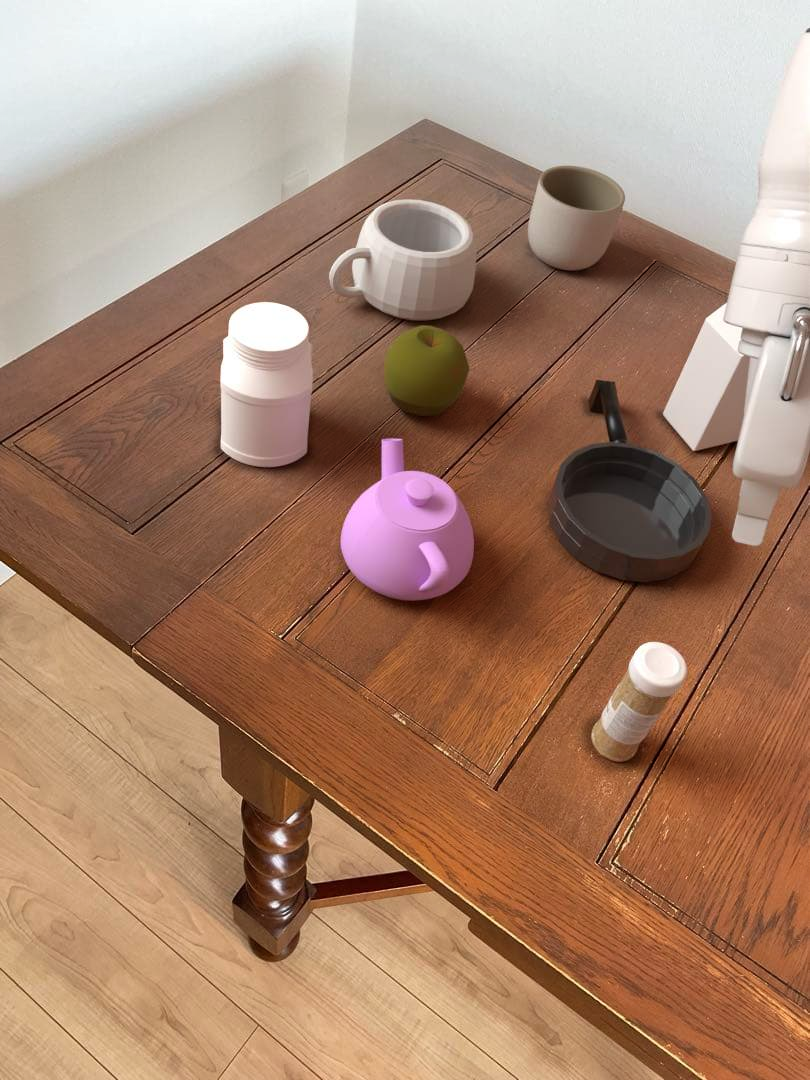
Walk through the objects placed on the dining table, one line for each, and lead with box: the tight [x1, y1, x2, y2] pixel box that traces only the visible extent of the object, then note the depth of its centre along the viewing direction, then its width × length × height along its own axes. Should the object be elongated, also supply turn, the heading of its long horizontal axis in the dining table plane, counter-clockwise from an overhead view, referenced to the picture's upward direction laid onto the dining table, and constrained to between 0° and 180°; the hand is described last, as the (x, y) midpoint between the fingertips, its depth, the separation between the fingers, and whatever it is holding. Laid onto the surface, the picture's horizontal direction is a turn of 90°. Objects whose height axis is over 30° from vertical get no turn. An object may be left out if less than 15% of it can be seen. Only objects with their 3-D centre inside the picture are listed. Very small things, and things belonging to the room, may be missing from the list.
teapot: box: [340, 438, 475, 602], centre depth 98 cm, size 14×20×11 cm
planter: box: [527, 165, 626, 271], centre depth 141 cm, size 12×12×11 cm
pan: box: [546, 441, 713, 583], centre depth 108 cm, size 17×17×4 cm
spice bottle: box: [590, 641, 688, 763], centre depth 86 cm, size 5×5×14 cm
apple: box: [383, 324, 470, 417], centre depth 114 cm, size 10×10×11 cm
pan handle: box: [588, 379, 629, 444], centre depth 117 cm, size 2×13×5 cm, turn 0°
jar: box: [219, 301, 314, 468], centre depth 105 cm, size 12×10×15 cm
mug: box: [328, 198, 477, 322], centre depth 129 cm, size 21×17×10 cm
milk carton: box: [662, 302, 750, 452], centre depth 116 cm, size 7×7×19 cm
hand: (748, 521), depth 63 cm, fingers open, 8 cm apart
